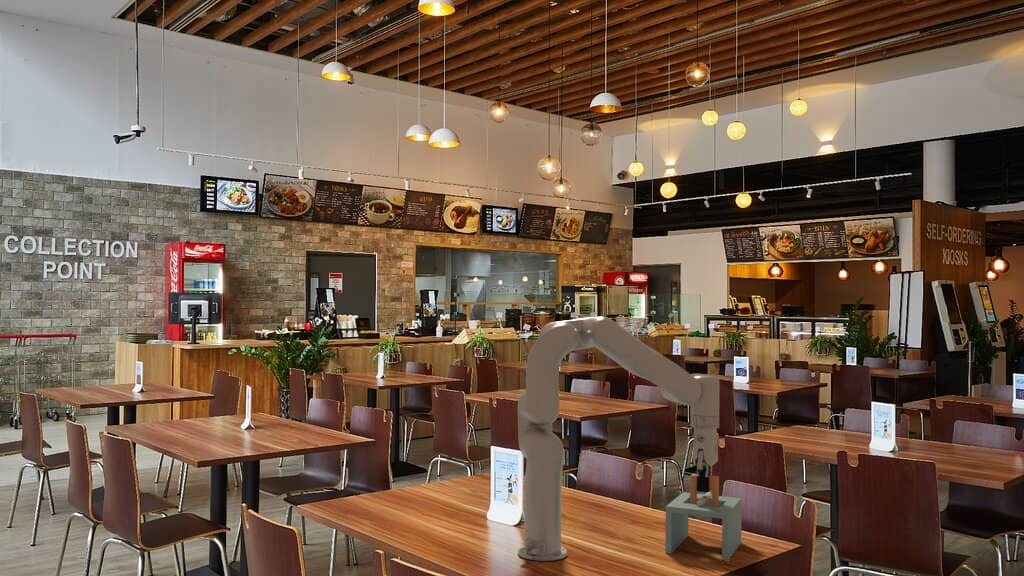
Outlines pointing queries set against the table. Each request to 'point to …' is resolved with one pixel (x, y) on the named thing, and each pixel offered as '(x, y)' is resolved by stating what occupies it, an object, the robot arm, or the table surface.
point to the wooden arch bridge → (712, 485)
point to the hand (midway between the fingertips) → (704, 489)
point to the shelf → (682, 509)
